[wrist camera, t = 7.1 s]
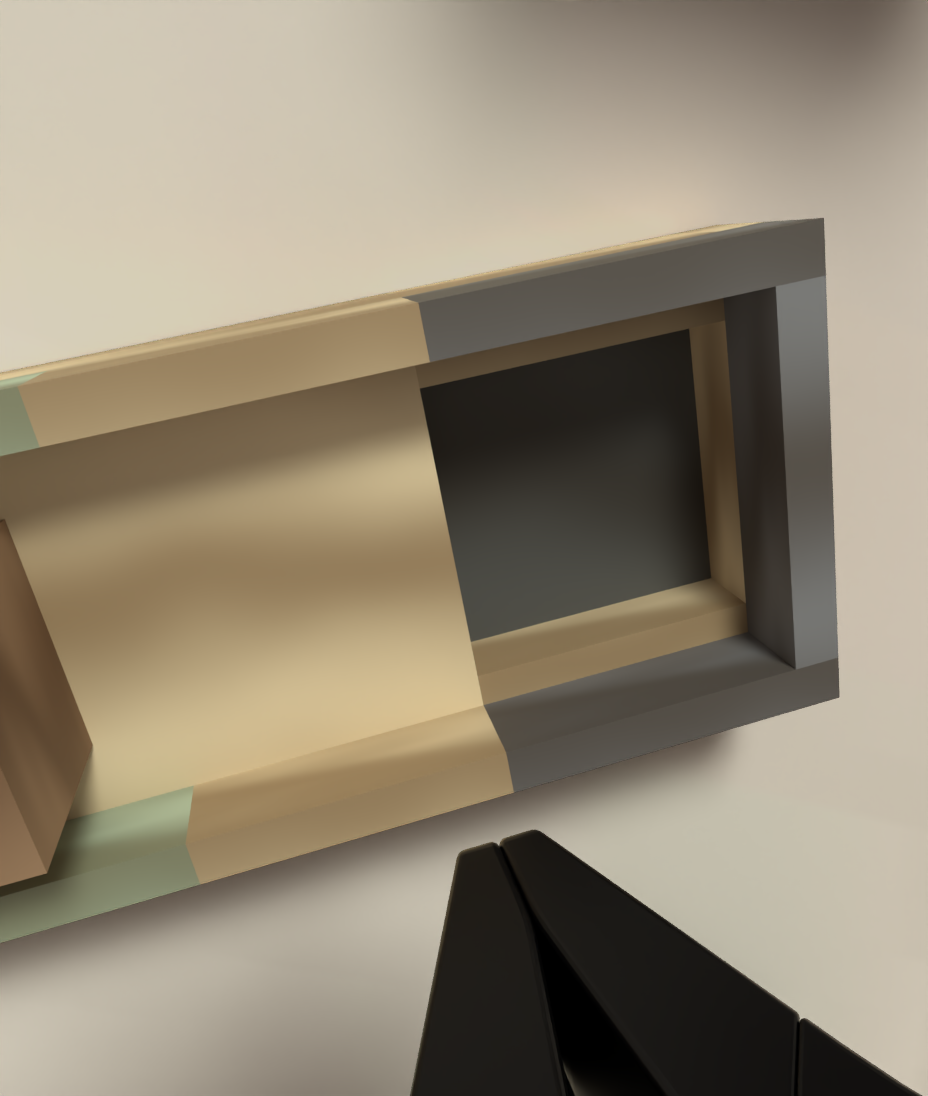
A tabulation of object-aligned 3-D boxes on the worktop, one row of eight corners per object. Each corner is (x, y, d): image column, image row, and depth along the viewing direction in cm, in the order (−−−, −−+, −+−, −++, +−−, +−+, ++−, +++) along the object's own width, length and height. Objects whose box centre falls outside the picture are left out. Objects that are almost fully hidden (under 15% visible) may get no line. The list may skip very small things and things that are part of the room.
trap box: (746, 625, 23) (839, 697, 19) (-532, 977, 19) (-731, 1157, 15) (716, 225, 19) (823, 217, 16) (-866, 551, 15) (-1235, 648, 11)
